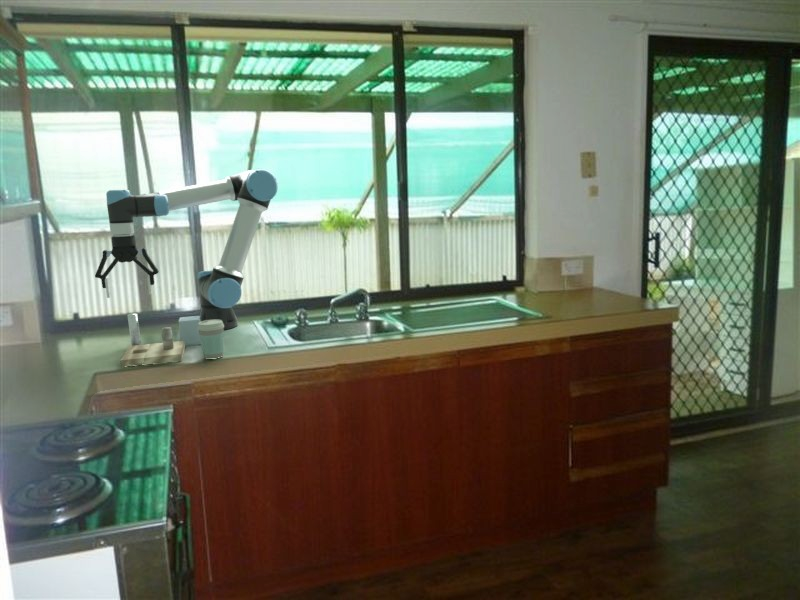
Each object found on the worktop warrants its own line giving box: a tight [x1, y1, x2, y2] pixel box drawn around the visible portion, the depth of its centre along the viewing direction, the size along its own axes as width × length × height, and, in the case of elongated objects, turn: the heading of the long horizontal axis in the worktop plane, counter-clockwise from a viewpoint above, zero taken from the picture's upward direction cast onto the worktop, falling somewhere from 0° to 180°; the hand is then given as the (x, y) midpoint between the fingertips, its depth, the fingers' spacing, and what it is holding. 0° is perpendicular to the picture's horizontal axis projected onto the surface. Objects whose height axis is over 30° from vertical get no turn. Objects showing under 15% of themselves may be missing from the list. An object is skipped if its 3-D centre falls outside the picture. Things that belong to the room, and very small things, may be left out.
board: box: [120, 326, 186, 368], centre depth 201 cm, size 18×18×10 cm
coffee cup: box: [197, 319, 224, 359], centre depth 198 cm, size 8×8×12 cm
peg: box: [127, 312, 142, 346], centre depth 214 cm, size 3×3×12 cm
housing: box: [178, 315, 202, 347], centre depth 218 cm, size 7×7×9 cm
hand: (130, 295), depth 212 cm, fingers open, 13 cm apart
